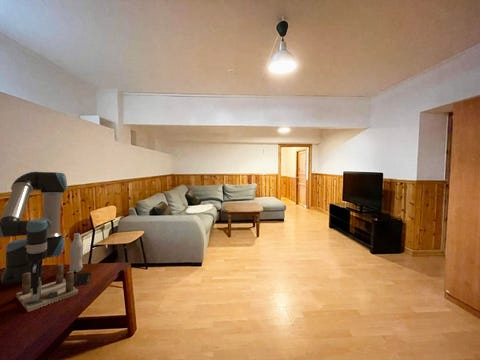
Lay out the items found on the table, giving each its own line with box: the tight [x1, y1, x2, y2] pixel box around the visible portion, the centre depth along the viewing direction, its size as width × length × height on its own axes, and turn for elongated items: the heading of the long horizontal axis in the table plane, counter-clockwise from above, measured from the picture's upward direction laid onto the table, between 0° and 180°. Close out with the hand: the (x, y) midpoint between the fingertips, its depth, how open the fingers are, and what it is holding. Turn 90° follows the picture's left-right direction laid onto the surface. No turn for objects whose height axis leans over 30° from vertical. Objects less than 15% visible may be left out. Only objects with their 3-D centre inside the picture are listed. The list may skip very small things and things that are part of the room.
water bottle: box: [68, 232, 84, 273], centre depth 144 cm, size 7×7×25 cm
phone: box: [73, 272, 92, 287], centre depth 135 cm, size 8×1×15 cm
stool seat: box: [16, 263, 79, 313], centre depth 116 cm, size 20×20×12 cm
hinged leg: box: [31, 277, 58, 299], centre depth 111 cm, size 4×10×10 cm, turn 110°
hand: (36, 296), depth 110 cm, fingers open, 4 cm apart
